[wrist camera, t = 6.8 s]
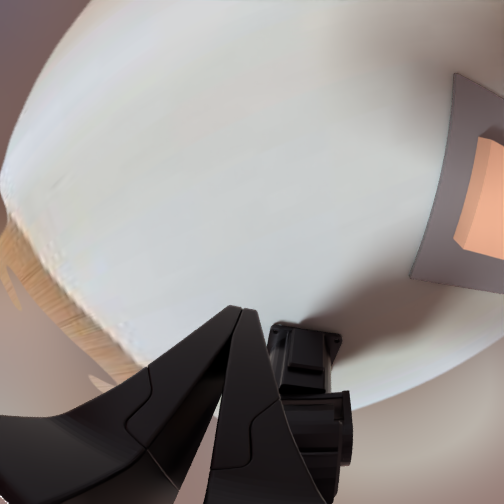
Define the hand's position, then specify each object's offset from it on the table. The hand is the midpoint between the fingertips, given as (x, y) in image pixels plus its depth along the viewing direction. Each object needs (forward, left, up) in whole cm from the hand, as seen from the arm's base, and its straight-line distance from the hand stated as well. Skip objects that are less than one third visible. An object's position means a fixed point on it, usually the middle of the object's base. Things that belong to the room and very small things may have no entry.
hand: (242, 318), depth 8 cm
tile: (+4, -14, -11) cm, 18 cm away
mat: (+4, -17, -12) cm, 21 cm away
